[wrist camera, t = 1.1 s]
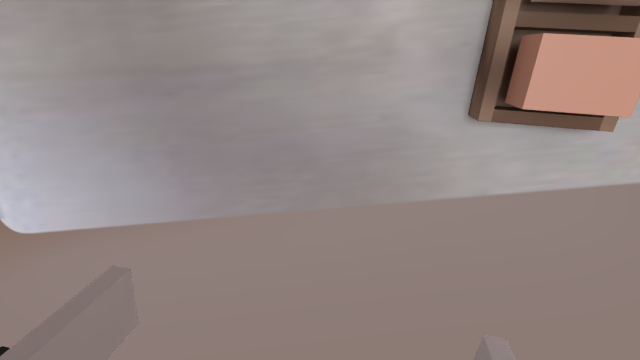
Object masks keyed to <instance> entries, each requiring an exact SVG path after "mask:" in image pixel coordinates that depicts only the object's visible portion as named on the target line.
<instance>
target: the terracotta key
mask: <svg viewBox="0 0 640 360" xmlns="http://www.w3.org/2000/svg"><path fill="white" fill-rule="evenodd" d="M639 96H640V38H630V37H610V36H590V35H571V34H551V33H541V34H532V35H524V36H522V38H521V42H520V46H519V50H518V54H517V57H516V61H515V65H514V69H513V73H512V77H511V81H510V84H509V88H508V92H507V96H506V100H505V103H507V104H510V105H513V106H515V107H518V108H521V109H527V110H540V111H553V112H566V113H579V114H592V115H605V116H618V117H631V116H632V114H633V111H634V109H635V106H636V104H637V101H638V99H639Z"/></svg>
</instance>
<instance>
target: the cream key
mask: <svg viewBox="0 0 640 360" xmlns="http://www.w3.org/2000/svg"><path fill="white" fill-rule="evenodd" d="M531 2H550V3H575V4H600V5H626V6H640V0H531Z"/></svg>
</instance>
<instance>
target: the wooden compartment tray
mask: <svg viewBox="0 0 640 360" xmlns="http://www.w3.org/2000/svg"><path fill="white" fill-rule="evenodd" d="M541 33H551V34H571V35H590V36H610V37H630V38H640V6H626V5H600V4H575V3H550V2H531V0H494V1H493V5H492V10H491V14H490V19H489V23H488V28H487V32H486V37H485V41H484V46H483V50H482V55H481V59H480V64H479V68H478V73H477V77H476V82H475V86H474V91H473V95H472V100H471V104H470V109H469V113H468V115H470V116H472V117H473V118H475V119H476V120H478V121H487V122H500V123H512V124H524V125H536V126H548V127H560V128H572V129H584V130H597V131H609V132H613V131H614V128H615V126H616V123H617V120H618V118H619V117H618V116H605V115H592V114H579V113H566V112H553V111H540V110H527V109H521V108H518V107H515V106H513V105H510V104H507V103H505V100H506V96H507V92H508V88H509V84H510V81H511V77H512V73H513V69H514V65H515V61H516V57H517V54H518V50H519V46H520V42H521V38H522V36H524V35H532V34H541Z"/></svg>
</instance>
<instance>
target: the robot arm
mask: <svg viewBox="0 0 640 360" xmlns="http://www.w3.org/2000/svg"><path fill="white" fill-rule="evenodd" d="M137 324H138V317H137V310H136V303H135V296H134V289H133V282H132V276H131V269H128V268H123V267H118V266H111V267H110V268H109V269H108V270H106V271H105V272H104V273H103V274H102V275H100V276H99V277H98V278H96V279H95V280H94V281H93V282H91V283H90V284H89V285H88V286H87V287H85V288H84V289H83V290H82V291H80V292H79V293H78V294H77V295H76V296H74V297H73V298H72V299H70V300H69V301H68V302H67V303H65V304H64V305H63V306H62V307H61V308H59V309H58V310H57V311H56V312H54V313H53V314H52V315H51V316H50V317H48V318H47V319H46V320H45V321H43V322H42V323H41V324H40V325H38V326H37V327H36V328H35V329H33V330H32V331H31V332H30V333H29V334H27V335H26V336H25V337H24V338H22V339H21V340H20V341H19V342H17V343H16V344H15V345H14V346H12V347H11V348H7V347H3V346H2V347H0V360H107V359H108V358H109V356H110V355H111V354H112V353H113V352H114V351H115V350H116V348H117V347H118V346H119V345H120V344H121V343H122V342H123V340H124V339H125V338H126V337H127V336H128V335H129V333H130V332H131V331H132V330H133V329H134V328H135V327H136V326H137ZM474 360H516V359H515V357H514V355H513V353H512V351H511V349H510V347H509V345H508V342H507V340H506V339H500V338H495V337H490V336H485V335H483V337H482V339H481V342H480V345H479V347H478V350H477V352H476V355H475V358H474Z"/></svg>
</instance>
